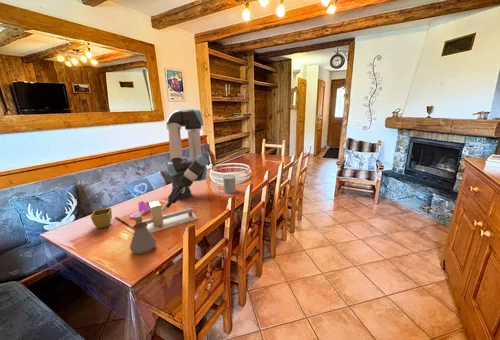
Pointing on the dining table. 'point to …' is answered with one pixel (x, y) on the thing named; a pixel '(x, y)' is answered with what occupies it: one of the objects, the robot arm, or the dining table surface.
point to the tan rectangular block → (156, 213)
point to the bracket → (142, 208)
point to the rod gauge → (168, 219)
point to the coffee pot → (140, 238)
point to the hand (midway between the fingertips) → (163, 210)
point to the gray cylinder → (229, 184)
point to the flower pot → (101, 217)
